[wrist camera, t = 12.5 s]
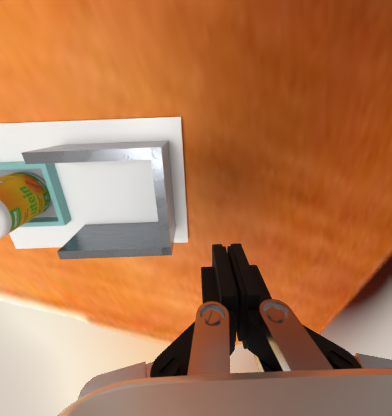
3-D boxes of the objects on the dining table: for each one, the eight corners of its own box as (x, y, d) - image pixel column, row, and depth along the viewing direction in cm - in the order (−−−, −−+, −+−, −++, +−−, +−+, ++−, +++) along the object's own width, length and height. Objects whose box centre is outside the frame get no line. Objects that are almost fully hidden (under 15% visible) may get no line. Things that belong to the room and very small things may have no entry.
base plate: (181, 116, 23) (179, 116, 21) (188, 237, 30) (187, 248, 27) (-30, 124, 23) (-56, 125, 21) (22, 244, 30) (7, 255, 27)
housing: (168, 140, 23) (161, 147, 18) (175, 227, 28) (171, 255, 22) (62, 144, 23) (21, 152, 18) (86, 231, 28) (60, 259, 22)
